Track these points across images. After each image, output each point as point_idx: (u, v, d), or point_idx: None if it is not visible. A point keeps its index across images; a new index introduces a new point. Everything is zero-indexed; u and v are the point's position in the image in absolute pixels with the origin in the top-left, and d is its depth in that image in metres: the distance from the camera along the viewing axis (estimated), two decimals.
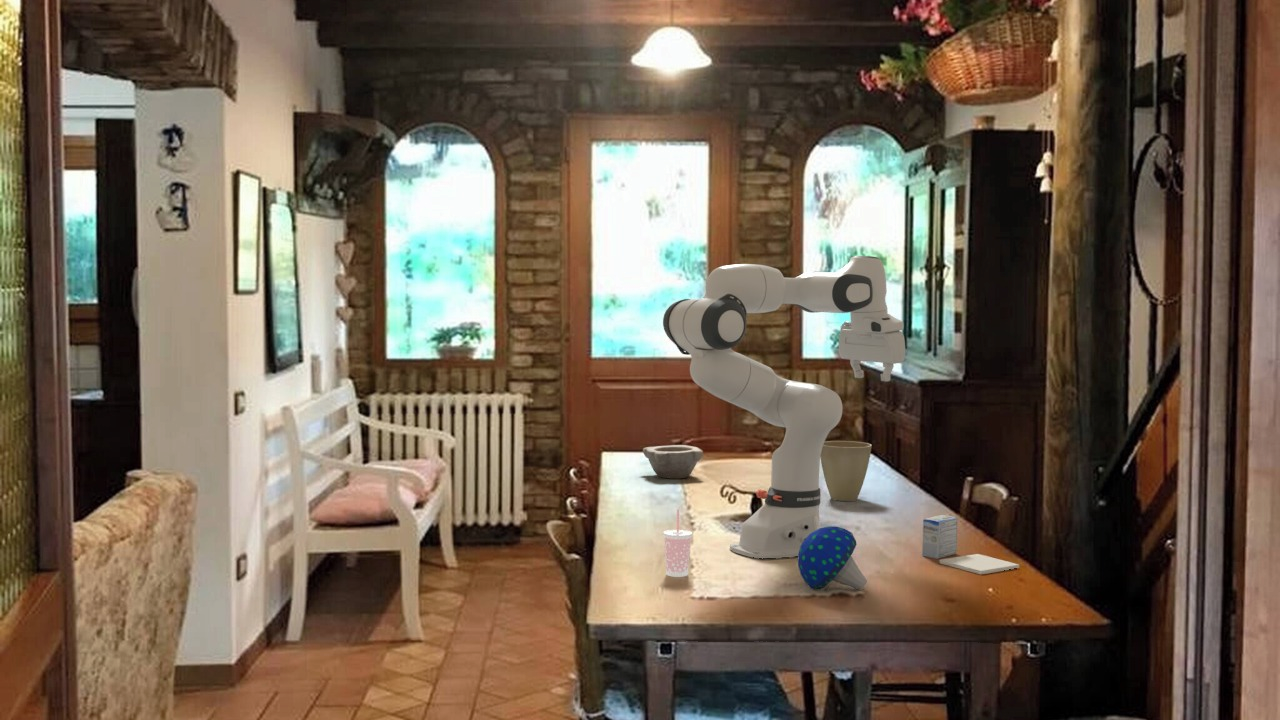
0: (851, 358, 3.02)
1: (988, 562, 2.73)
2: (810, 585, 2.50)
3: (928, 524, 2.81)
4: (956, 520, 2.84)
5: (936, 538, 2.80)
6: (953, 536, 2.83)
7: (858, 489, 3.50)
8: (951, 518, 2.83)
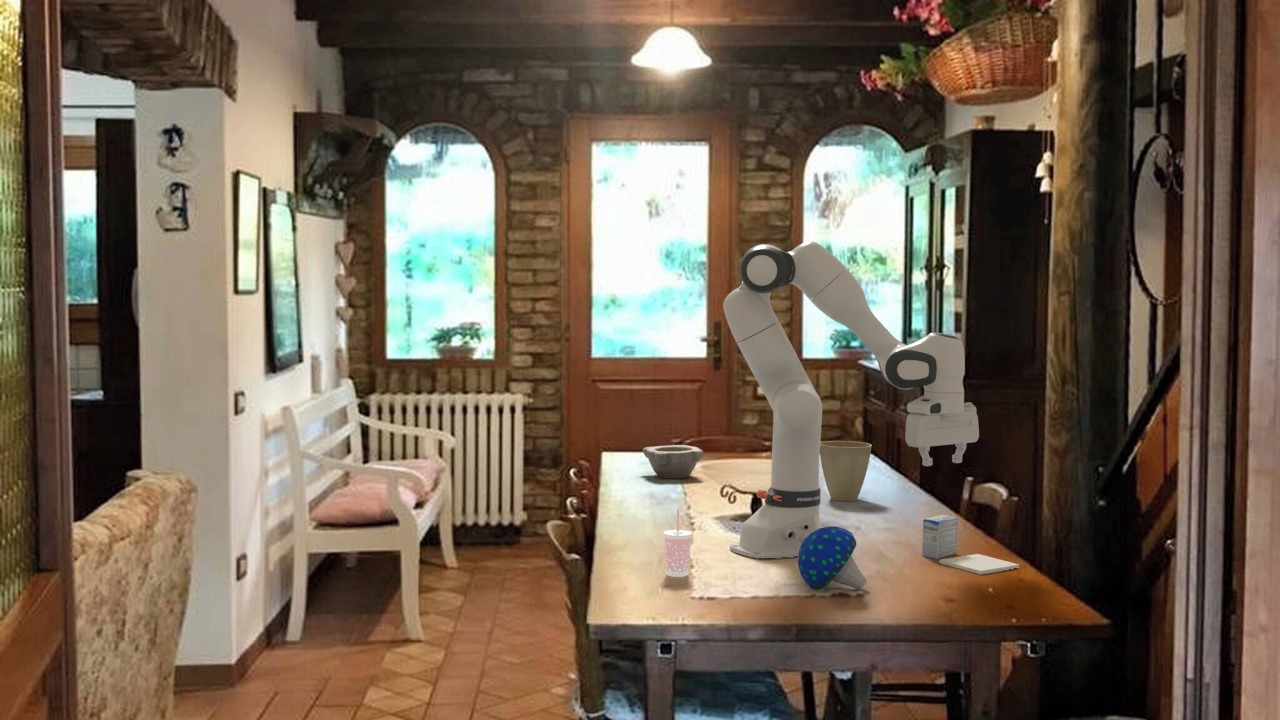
0: None
1: (988, 562, 2.73)
2: (810, 585, 2.50)
3: (928, 524, 2.81)
4: (956, 520, 2.84)
5: (936, 538, 2.80)
6: (953, 536, 2.83)
7: (858, 489, 3.50)
8: (951, 518, 2.83)
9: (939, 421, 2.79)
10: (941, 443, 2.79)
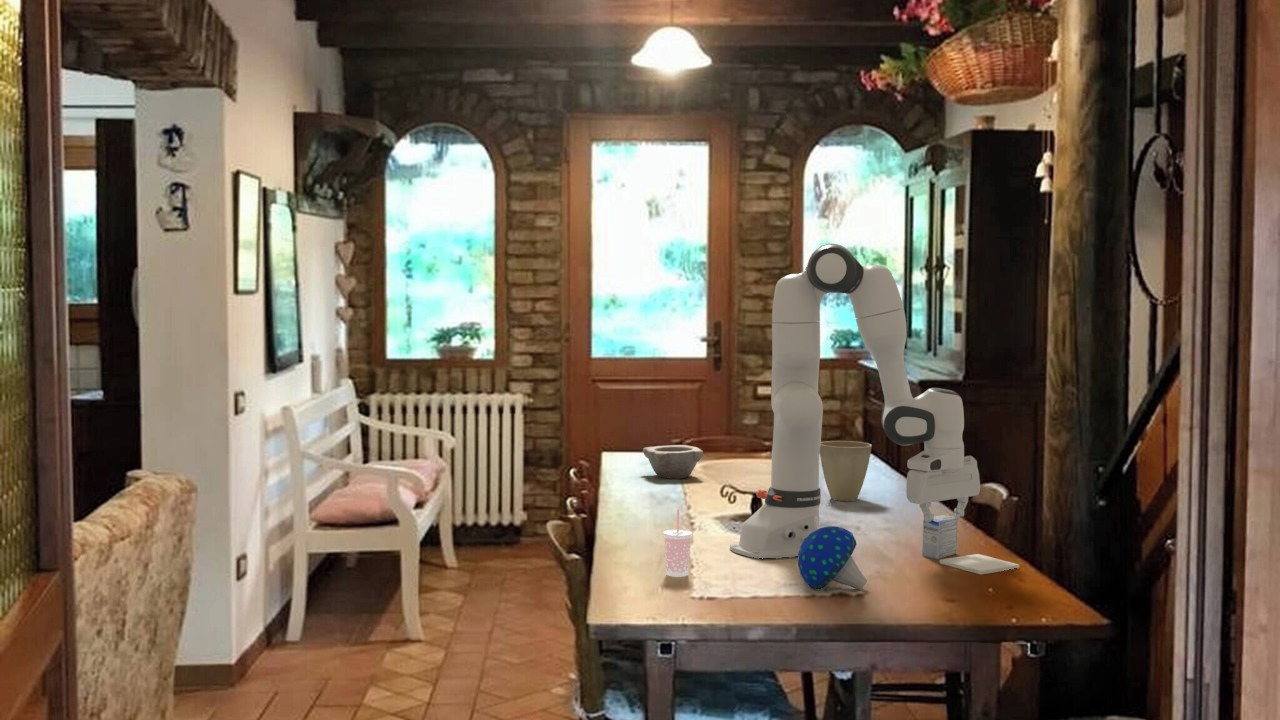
0: None
1: (988, 562, 2.73)
2: (810, 585, 2.50)
3: (928, 524, 2.81)
4: (956, 520, 2.84)
5: (936, 538, 2.80)
6: (953, 537, 2.83)
7: (858, 489, 3.50)
8: (951, 518, 2.83)
9: (940, 477, 2.79)
10: (942, 498, 2.80)
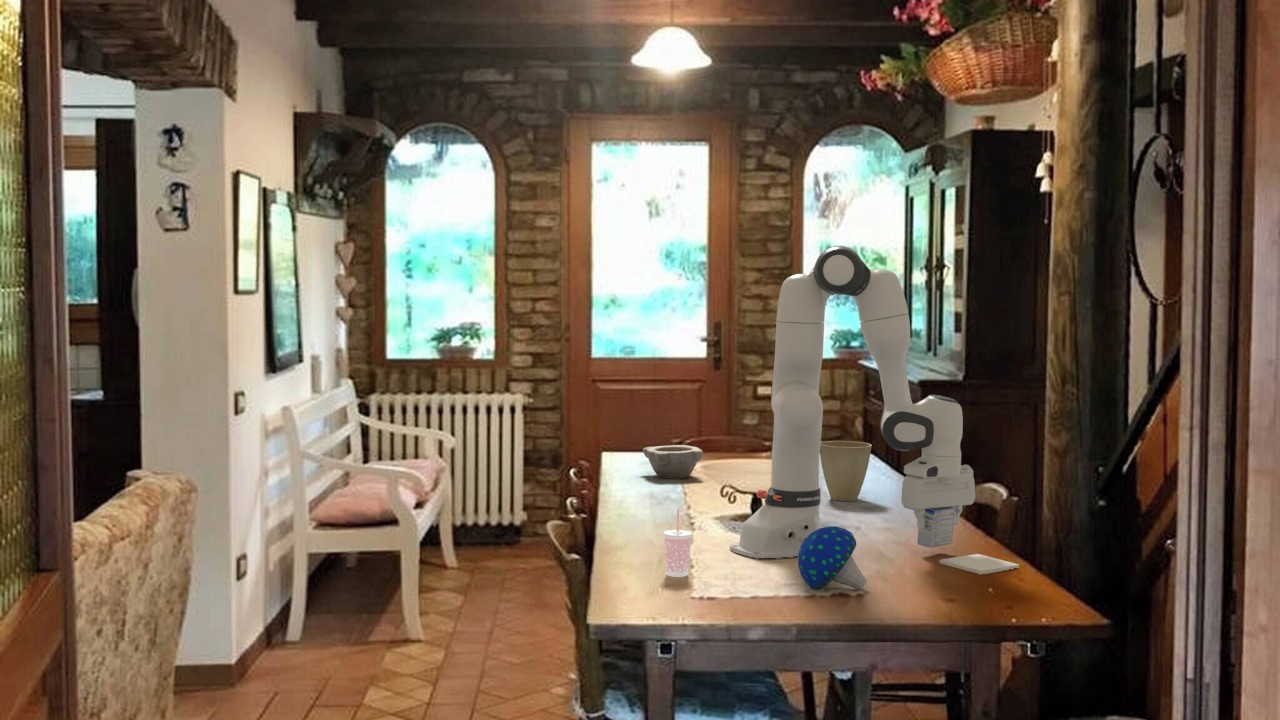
0: None
1: (988, 562, 2.73)
2: (810, 585, 2.50)
3: None
4: (953, 510, 2.84)
5: (932, 527, 2.80)
6: (949, 526, 2.83)
7: (858, 489, 3.50)
8: (948, 508, 2.83)
9: (935, 484, 2.80)
10: (937, 506, 2.80)
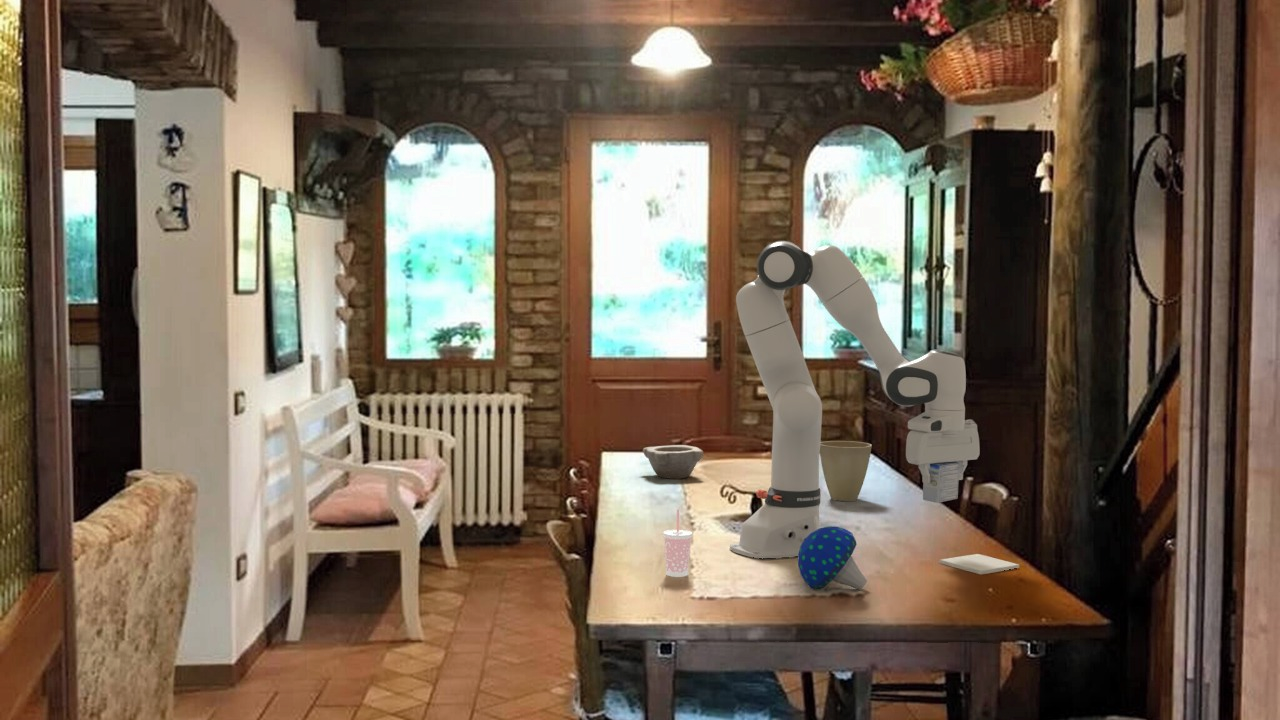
0: None
1: (988, 562, 2.73)
2: (810, 585, 2.50)
3: (929, 468, 2.80)
4: (957, 465, 2.83)
5: (937, 482, 2.79)
6: (954, 481, 2.82)
7: (858, 489, 3.50)
8: (952, 463, 2.82)
9: (940, 438, 2.78)
10: (941, 460, 2.79)
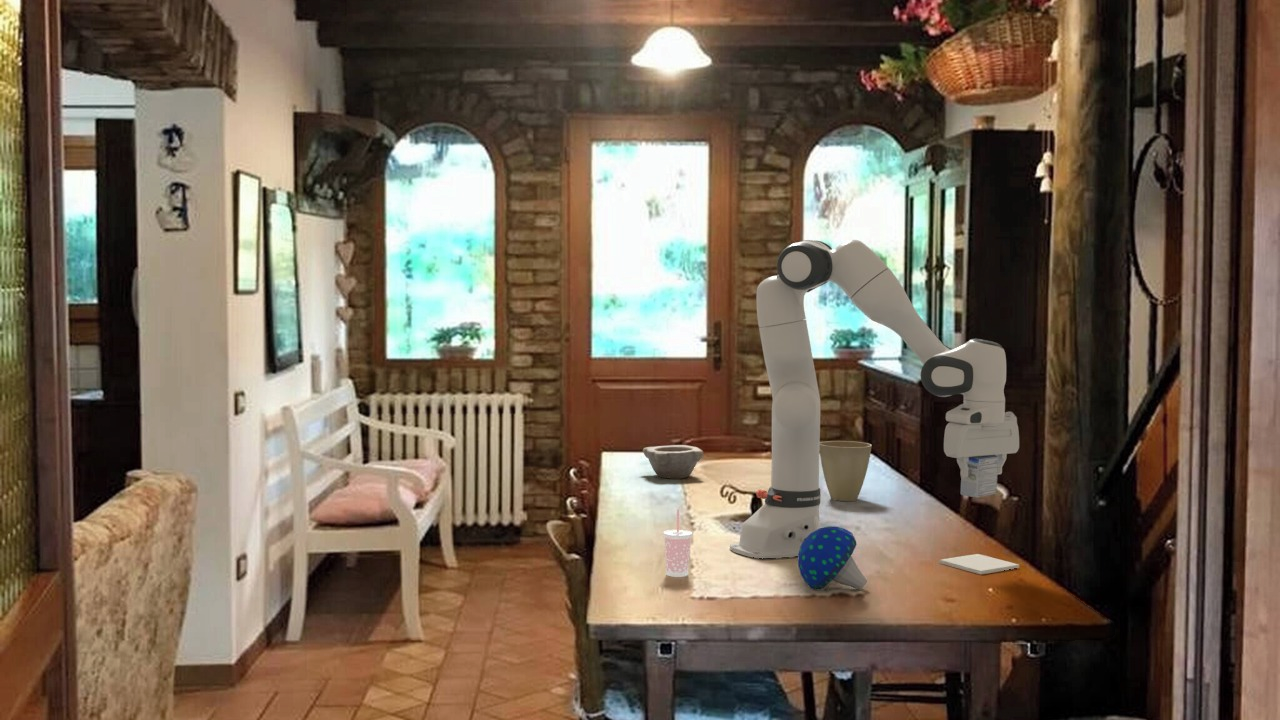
0: None
1: (988, 562, 2.73)
2: (810, 585, 2.50)
3: None
4: (997, 459, 2.73)
5: (975, 476, 2.69)
6: (993, 475, 2.72)
7: (858, 489, 3.50)
8: (991, 456, 2.72)
9: (979, 431, 2.68)
10: (981, 454, 2.69)
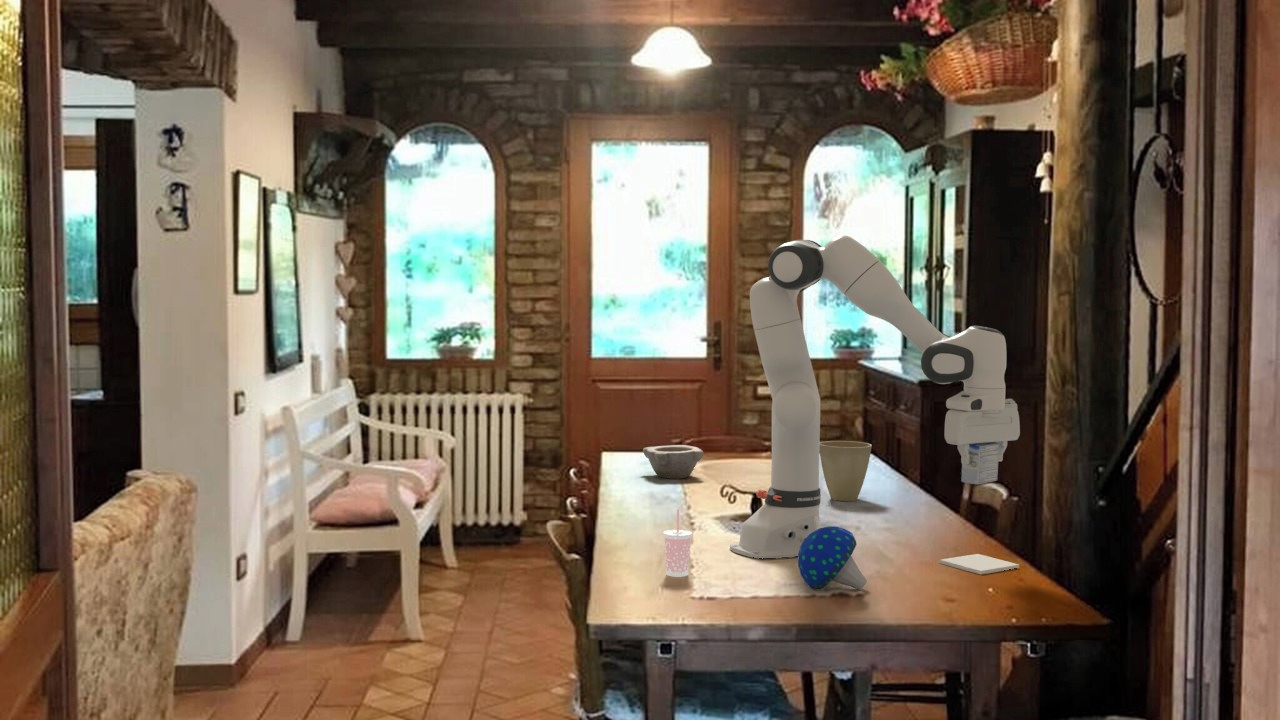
0: None
1: (988, 562, 2.73)
2: (810, 585, 2.50)
3: None
4: (997, 445, 2.73)
5: (976, 463, 2.69)
6: (994, 462, 2.72)
7: (858, 489, 3.50)
8: (992, 443, 2.72)
9: (979, 418, 2.68)
10: (981, 441, 2.69)
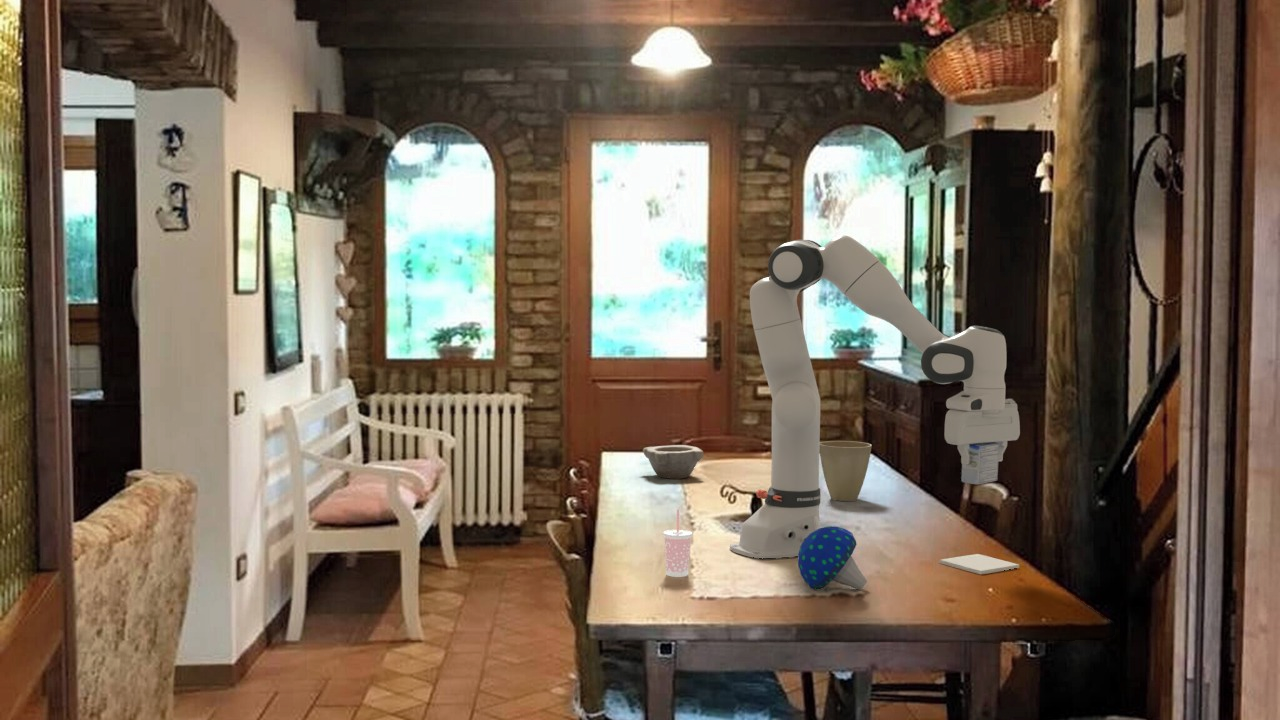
0: None
1: (988, 562, 2.73)
2: (810, 585, 2.50)
3: None
4: (997, 445, 2.73)
5: (976, 463, 2.69)
6: (994, 462, 2.72)
7: (858, 489, 3.50)
8: (992, 443, 2.72)
9: (979, 418, 2.68)
10: (981, 441, 2.69)
